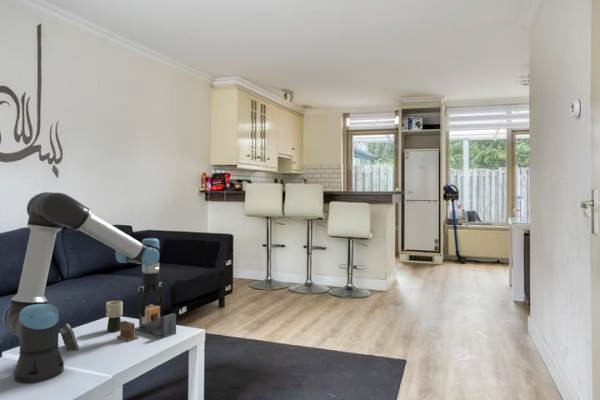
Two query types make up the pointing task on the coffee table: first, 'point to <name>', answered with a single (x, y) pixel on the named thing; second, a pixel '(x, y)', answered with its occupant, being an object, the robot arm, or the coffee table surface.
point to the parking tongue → (127, 331)
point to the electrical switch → (69, 337)
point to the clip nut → (152, 312)
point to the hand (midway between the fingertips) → (150, 321)
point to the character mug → (114, 314)
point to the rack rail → (159, 326)
